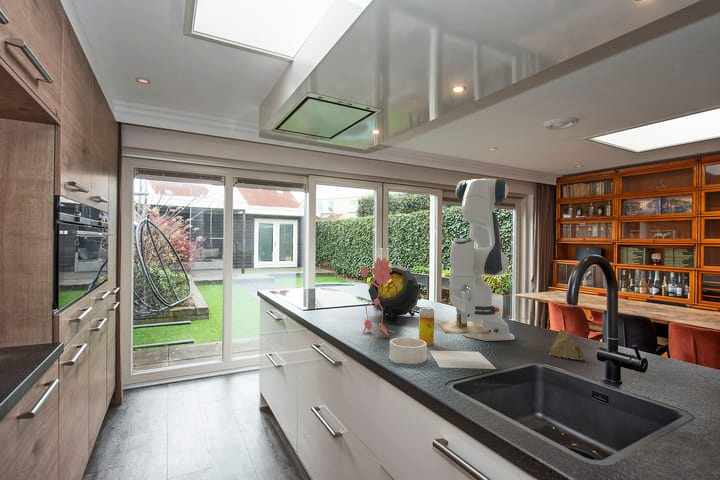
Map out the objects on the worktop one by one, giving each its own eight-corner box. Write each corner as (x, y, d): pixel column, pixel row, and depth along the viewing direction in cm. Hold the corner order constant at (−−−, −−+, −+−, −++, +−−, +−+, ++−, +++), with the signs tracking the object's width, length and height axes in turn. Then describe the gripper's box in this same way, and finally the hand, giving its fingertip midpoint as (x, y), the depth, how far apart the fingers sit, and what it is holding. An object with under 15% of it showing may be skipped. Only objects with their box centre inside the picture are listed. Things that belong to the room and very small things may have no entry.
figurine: (388, 342, 154) (391, 258, 155) (350, 330, 174) (353, 256, 175) (413, 337, 164) (416, 259, 164) (374, 326, 184) (377, 256, 184)
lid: (476, 323, 140) (476, 311, 140) (489, 334, 125) (489, 320, 125) (436, 323, 141) (436, 310, 141) (445, 333, 126) (445, 319, 126)
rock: (592, 354, 136) (569, 343, 146) (585, 337, 134) (562, 327, 143) (572, 373, 134) (550, 360, 144) (564, 356, 132) (542, 345, 141)
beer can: (433, 346, 149) (434, 309, 149) (418, 345, 150) (419, 308, 150) (433, 343, 155) (434, 307, 155) (418, 341, 156) (419, 306, 156)
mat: (478, 353, 142) (478, 351, 142) (496, 370, 123) (496, 368, 123) (429, 351, 142) (429, 350, 142) (439, 368, 123) (439, 367, 123)
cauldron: (435, 309, 207) (424, 286, 190) (393, 335, 207) (378, 314, 191) (413, 276, 227) (400, 253, 211) (374, 300, 228) (359, 278, 211)
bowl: (422, 354, 139) (423, 338, 139) (428, 365, 126) (429, 347, 126) (388, 353, 139) (388, 337, 139) (391, 364, 126) (391, 346, 126)
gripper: (480, 287, 122) (479, 329, 123) (463, 280, 143) (463, 315, 143) (461, 287, 122) (460, 328, 123) (447, 280, 143) (446, 315, 143)
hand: (461, 321), depth 133 cm, fingers closed on lid, 3 cm apart
